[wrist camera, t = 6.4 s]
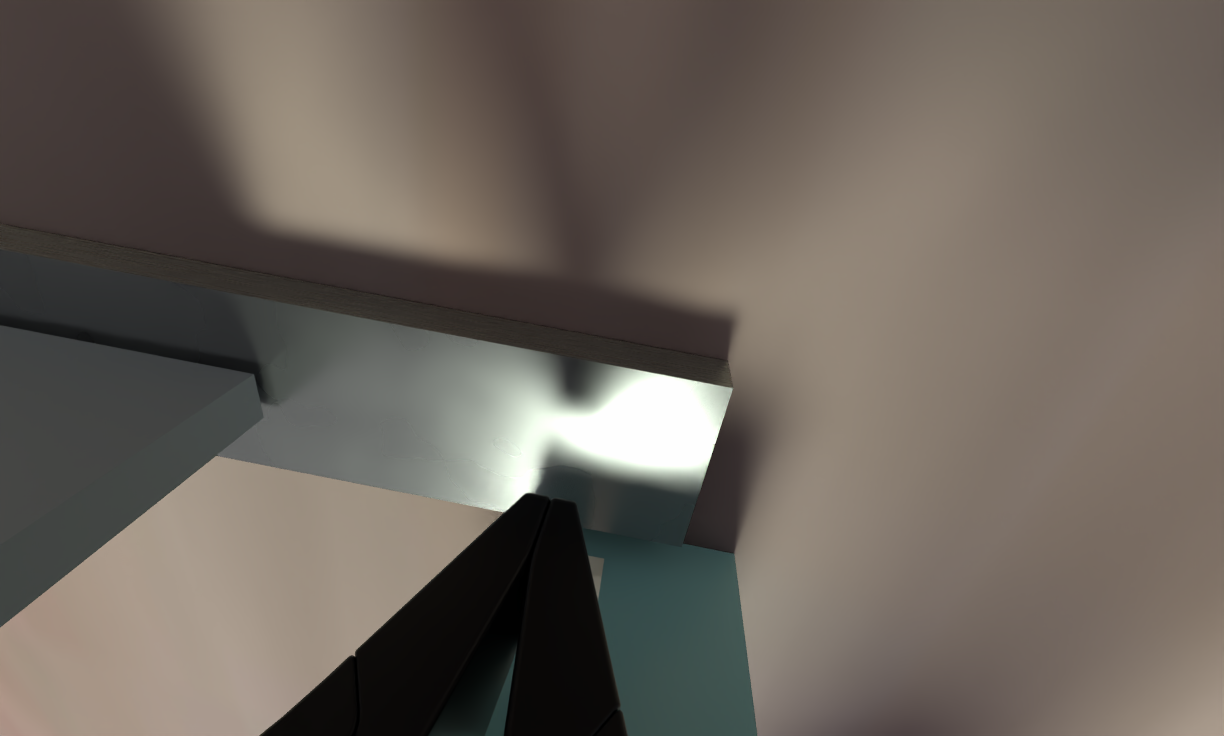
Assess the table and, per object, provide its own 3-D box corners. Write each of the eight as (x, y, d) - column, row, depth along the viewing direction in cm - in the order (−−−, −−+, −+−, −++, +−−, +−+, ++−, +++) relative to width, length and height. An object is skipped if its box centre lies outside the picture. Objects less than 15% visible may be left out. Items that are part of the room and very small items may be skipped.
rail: (727, 360, 9) (732, 388, 9) (680, 512, 11) (681, 546, 11) (-323, 162, 10) (-419, 169, 9) (-194, 341, 12) (-262, 361, 11)
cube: (736, 546, 12) (770, 807, 8) (685, 667, 15) (690, 915, 10) (530, 504, 12) (447, 740, 8) (516, 633, 15) (449, 864, 10)
